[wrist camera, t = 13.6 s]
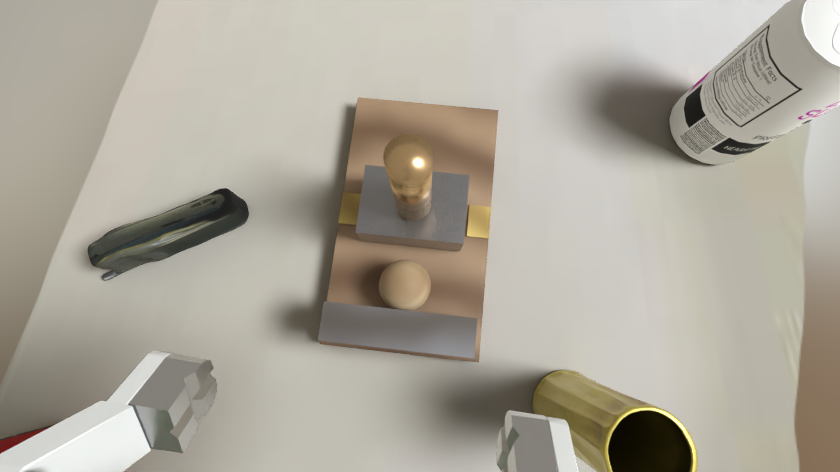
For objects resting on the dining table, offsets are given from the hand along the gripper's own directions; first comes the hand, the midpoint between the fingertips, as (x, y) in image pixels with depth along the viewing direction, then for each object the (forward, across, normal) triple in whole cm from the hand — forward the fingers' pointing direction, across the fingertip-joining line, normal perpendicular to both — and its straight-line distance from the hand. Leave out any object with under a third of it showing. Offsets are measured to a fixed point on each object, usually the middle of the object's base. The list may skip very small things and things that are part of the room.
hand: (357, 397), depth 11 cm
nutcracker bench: (+28, 0, +10) cm, 30 cm away
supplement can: (+38, -27, 0) cm, 46 cm away
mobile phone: (+25, +23, +15) cm, 37 cm away
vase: (+18, -16, +21) cm, 32 cm away
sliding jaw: (+26, +1, +9) cm, 28 cm away
